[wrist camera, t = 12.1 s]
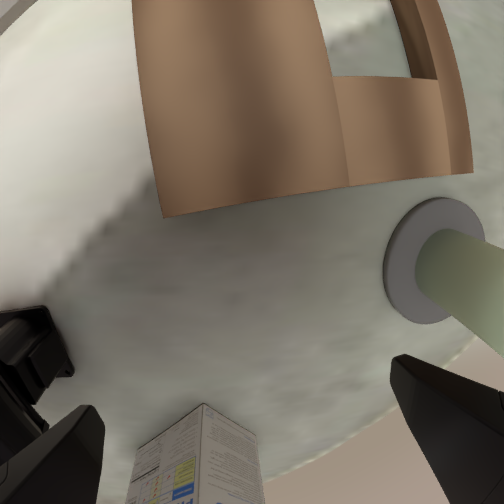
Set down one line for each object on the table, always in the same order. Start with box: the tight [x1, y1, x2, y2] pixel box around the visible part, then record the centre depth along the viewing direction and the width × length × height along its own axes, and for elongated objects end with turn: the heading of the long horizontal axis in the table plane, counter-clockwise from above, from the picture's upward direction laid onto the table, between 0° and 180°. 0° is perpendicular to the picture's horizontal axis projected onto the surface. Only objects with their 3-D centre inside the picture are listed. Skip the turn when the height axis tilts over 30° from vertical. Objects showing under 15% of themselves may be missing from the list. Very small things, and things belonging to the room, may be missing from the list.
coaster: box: [383, 197, 485, 324], centre depth 21 cm, size 10×10×1 cm
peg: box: [415, 228, 504, 358], centre depth 15 cm, size 6×6×13 cm
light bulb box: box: [125, 404, 265, 504], centre depth 20 cm, size 11×7×11 cm, turn 135°
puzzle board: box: [132, 0, 474, 218], centre depth 16 cm, size 20×16×3 cm
